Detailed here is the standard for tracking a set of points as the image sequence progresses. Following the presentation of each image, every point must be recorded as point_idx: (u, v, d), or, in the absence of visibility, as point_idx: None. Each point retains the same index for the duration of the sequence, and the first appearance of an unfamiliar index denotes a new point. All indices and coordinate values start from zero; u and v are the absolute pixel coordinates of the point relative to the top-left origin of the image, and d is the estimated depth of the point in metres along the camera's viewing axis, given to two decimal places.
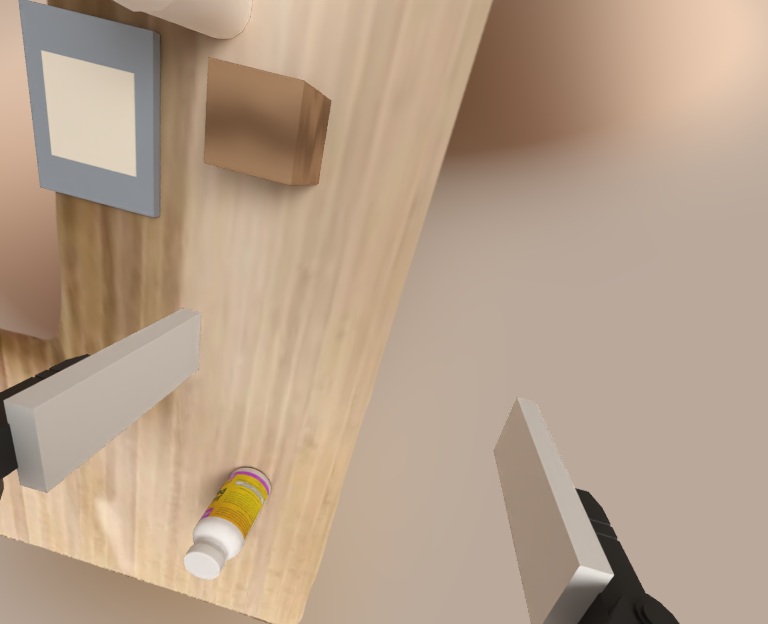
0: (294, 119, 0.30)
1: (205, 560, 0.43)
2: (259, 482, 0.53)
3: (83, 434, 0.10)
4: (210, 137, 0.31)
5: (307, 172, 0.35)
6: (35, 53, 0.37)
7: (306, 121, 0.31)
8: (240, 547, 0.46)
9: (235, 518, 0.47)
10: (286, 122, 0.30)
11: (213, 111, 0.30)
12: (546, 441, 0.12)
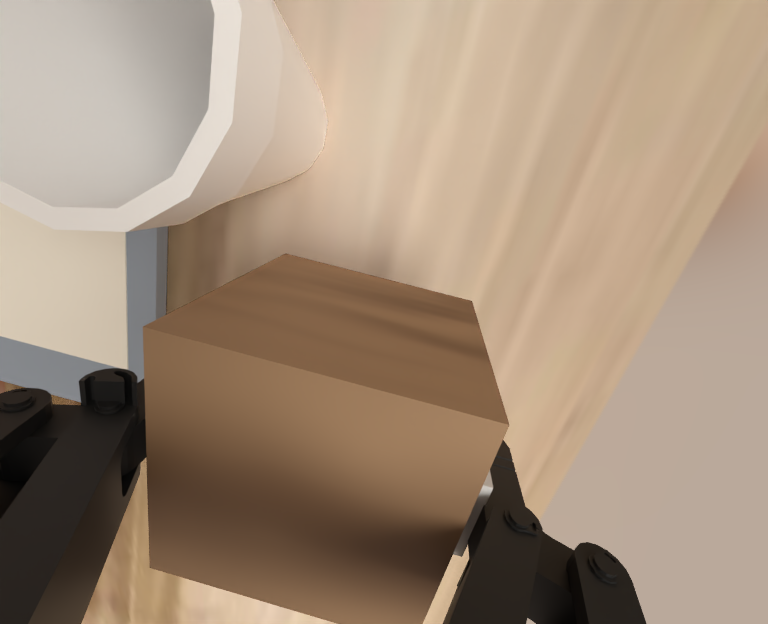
0: (450, 517, 0.08)
1: None
2: None
3: None
4: (165, 521, 0.10)
5: None
6: None
7: None
8: None
9: None
10: (421, 521, 0.09)
11: (170, 466, 0.09)
12: None
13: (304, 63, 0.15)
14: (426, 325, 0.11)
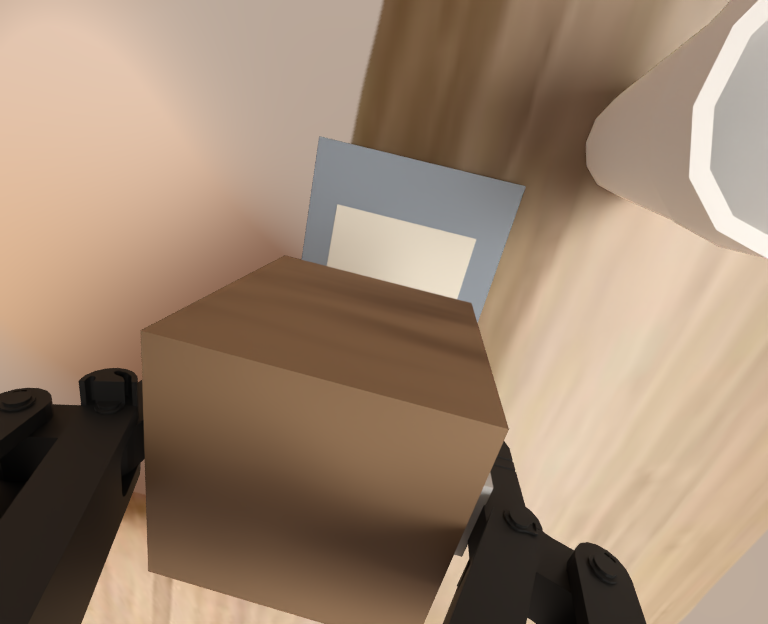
0: (449, 521, 0.08)
1: None
2: None
3: None
4: (163, 524, 0.10)
5: None
6: (325, 207, 0.26)
7: None
8: None
9: None
10: (420, 524, 0.09)
11: (169, 470, 0.09)
12: None
13: None
14: (426, 328, 0.11)
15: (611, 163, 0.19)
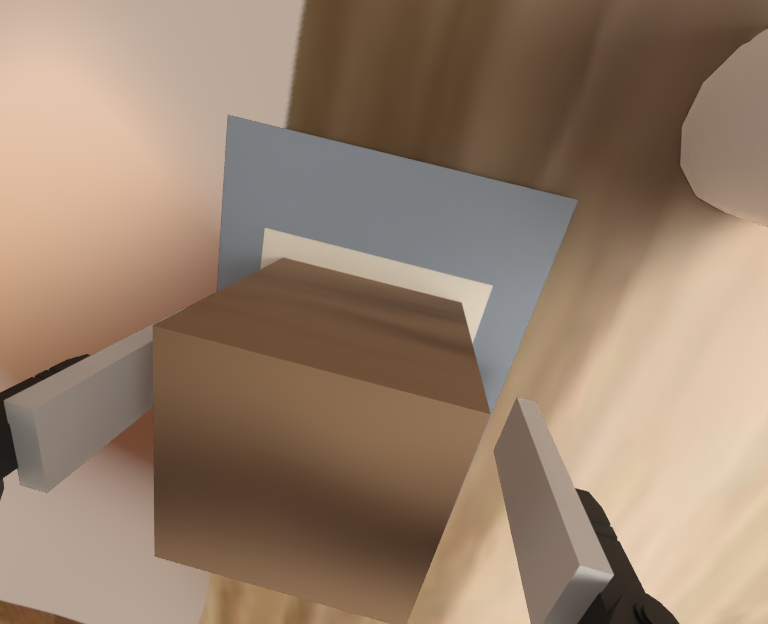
0: (438, 502, 0.09)
1: None
2: None
3: (83, 434, 0.10)
4: (170, 510, 0.10)
5: None
6: (246, 232, 0.16)
7: None
8: None
9: None
10: (411, 505, 0.09)
11: (176, 457, 0.10)
12: (546, 441, 0.12)
13: None
14: (417, 325, 0.12)
15: None
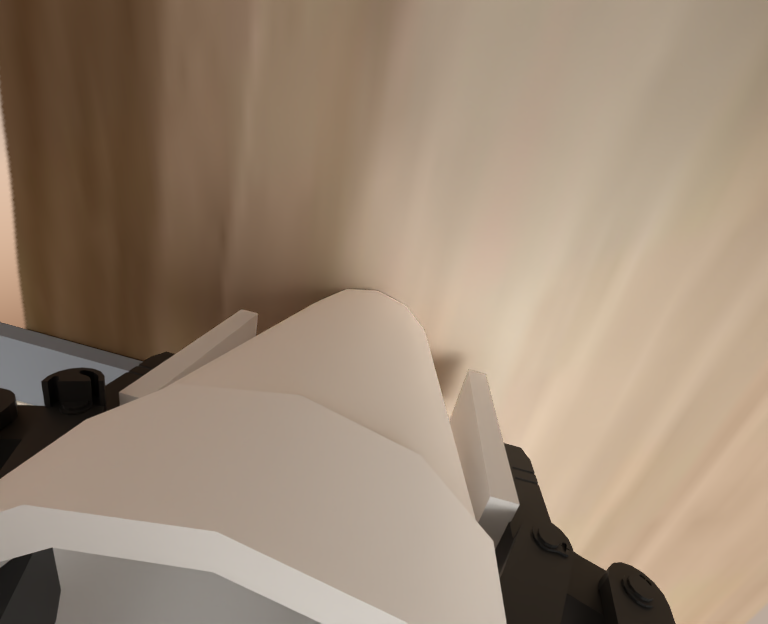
0: None
1: None
2: None
3: None
4: None
5: None
6: None
7: None
8: None
9: None
10: None
11: None
12: (486, 404, 0.13)
13: None
14: None
15: None
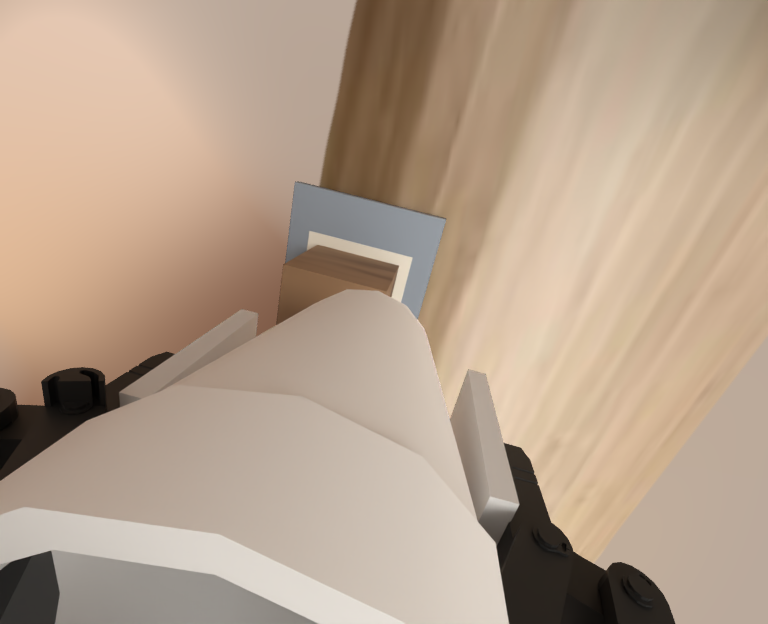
0: None
1: None
2: None
3: None
4: None
5: None
6: (301, 232, 0.34)
7: None
8: None
9: None
10: None
11: (285, 312, 0.28)
12: (486, 404, 0.13)
13: None
14: (373, 271, 0.30)
15: None
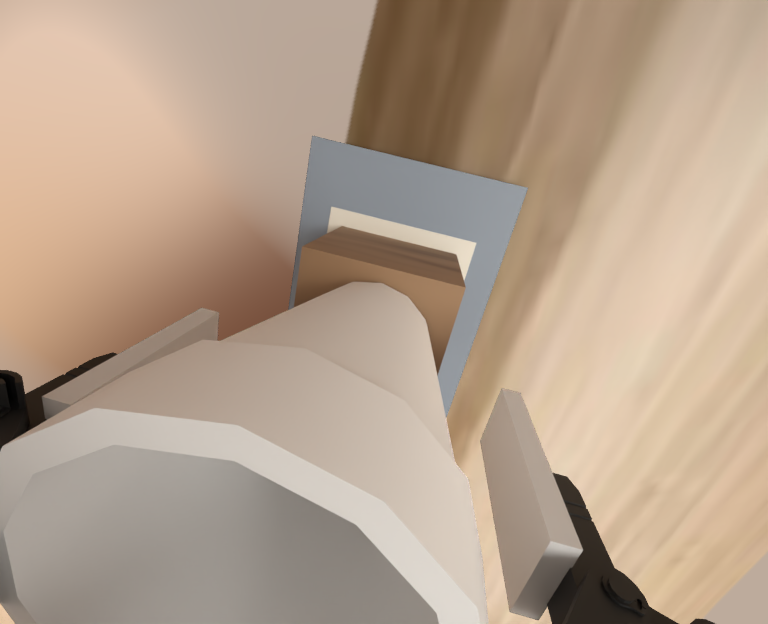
0: (440, 339, 0.18)
1: None
2: None
3: None
4: None
5: None
6: (319, 209, 0.25)
7: None
8: None
9: None
10: None
11: None
12: (527, 429, 0.12)
13: None
14: (429, 259, 0.21)
15: None
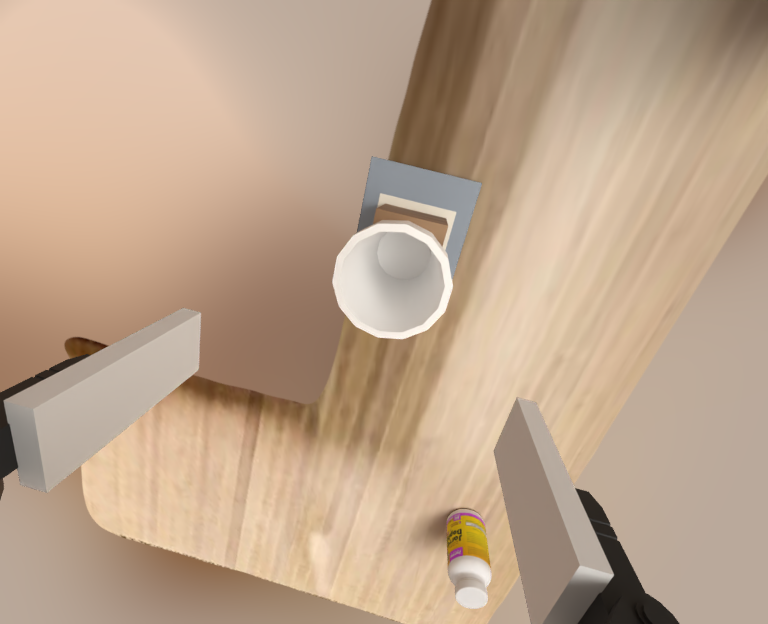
0: None
1: (477, 594, 0.52)
2: (481, 522, 0.62)
3: (83, 434, 0.10)
4: None
5: None
6: (373, 194, 0.46)
7: None
8: None
9: (484, 556, 0.56)
10: None
11: None
12: (546, 441, 0.12)
13: None
14: (432, 217, 0.43)
15: None
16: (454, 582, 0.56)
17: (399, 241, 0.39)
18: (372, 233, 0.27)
